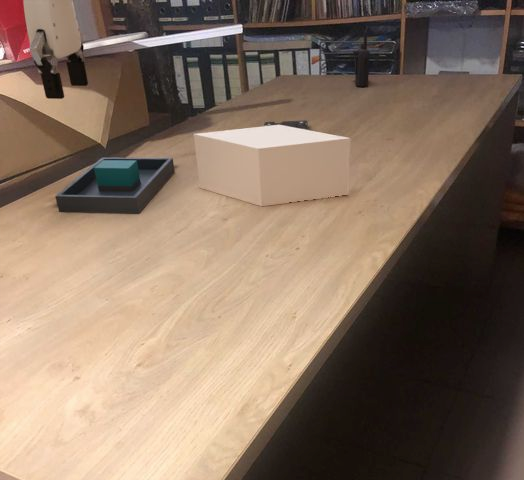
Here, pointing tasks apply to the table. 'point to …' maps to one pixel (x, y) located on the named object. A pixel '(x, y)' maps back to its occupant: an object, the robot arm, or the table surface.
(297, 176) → the white rectangular box
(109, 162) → the eraser
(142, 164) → the tray
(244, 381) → the table surface
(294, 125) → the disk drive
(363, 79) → the two-way radio
